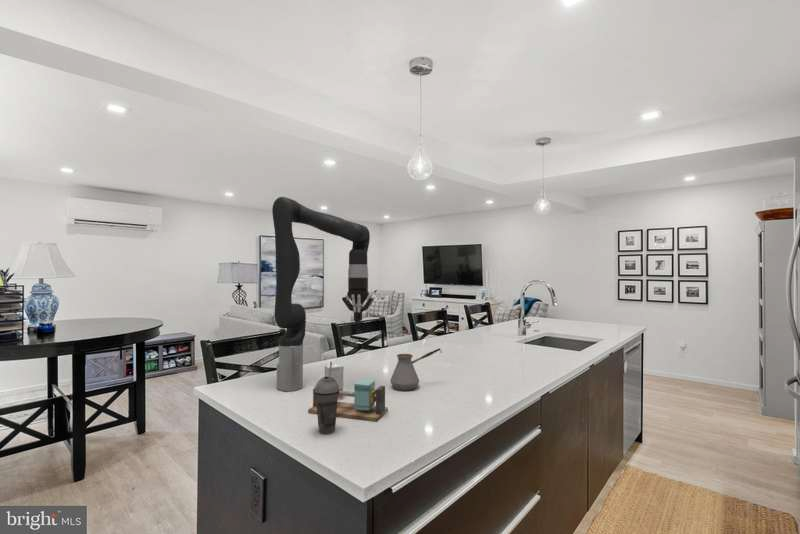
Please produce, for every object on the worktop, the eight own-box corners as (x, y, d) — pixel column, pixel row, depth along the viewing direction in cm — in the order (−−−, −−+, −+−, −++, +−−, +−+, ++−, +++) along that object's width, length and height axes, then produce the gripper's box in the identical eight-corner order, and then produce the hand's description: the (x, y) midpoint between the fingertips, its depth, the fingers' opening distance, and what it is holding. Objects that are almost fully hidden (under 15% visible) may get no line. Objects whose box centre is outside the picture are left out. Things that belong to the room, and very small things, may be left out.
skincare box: (327, 401, 139) (327, 367, 139) (324, 397, 142) (324, 365, 143) (343, 398, 141) (343, 365, 142) (339, 395, 145) (340, 363, 145)
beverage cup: (315, 426, 116) (316, 359, 117) (340, 425, 117) (340, 358, 117) (312, 436, 109) (312, 365, 109) (338, 435, 110) (338, 364, 110)
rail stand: (308, 413, 127) (308, 385, 127) (323, 403, 136) (323, 377, 137) (377, 421, 120) (377, 392, 120) (387, 410, 129) (387, 383, 129)
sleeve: (354, 408, 125) (354, 383, 125) (360, 403, 130) (360, 379, 130) (368, 410, 123) (368, 385, 123) (374, 405, 128) (374, 380, 128)
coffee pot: (393, 393, 148) (394, 353, 148) (387, 384, 159) (387, 347, 159) (446, 389, 153) (446, 350, 153) (437, 381, 164) (437, 345, 165)
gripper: (337, 276, 147) (337, 322, 146) (370, 276, 143) (370, 324, 142) (346, 276, 154) (346, 320, 154) (377, 276, 150) (377, 321, 150)
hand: (358, 322), depth 148 cm, fingers closed
